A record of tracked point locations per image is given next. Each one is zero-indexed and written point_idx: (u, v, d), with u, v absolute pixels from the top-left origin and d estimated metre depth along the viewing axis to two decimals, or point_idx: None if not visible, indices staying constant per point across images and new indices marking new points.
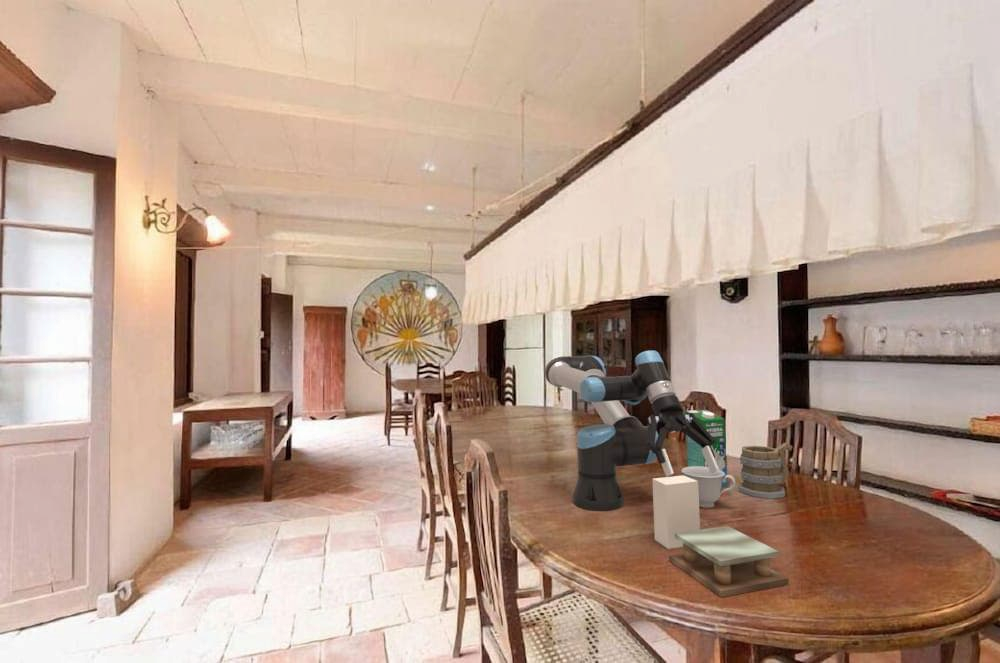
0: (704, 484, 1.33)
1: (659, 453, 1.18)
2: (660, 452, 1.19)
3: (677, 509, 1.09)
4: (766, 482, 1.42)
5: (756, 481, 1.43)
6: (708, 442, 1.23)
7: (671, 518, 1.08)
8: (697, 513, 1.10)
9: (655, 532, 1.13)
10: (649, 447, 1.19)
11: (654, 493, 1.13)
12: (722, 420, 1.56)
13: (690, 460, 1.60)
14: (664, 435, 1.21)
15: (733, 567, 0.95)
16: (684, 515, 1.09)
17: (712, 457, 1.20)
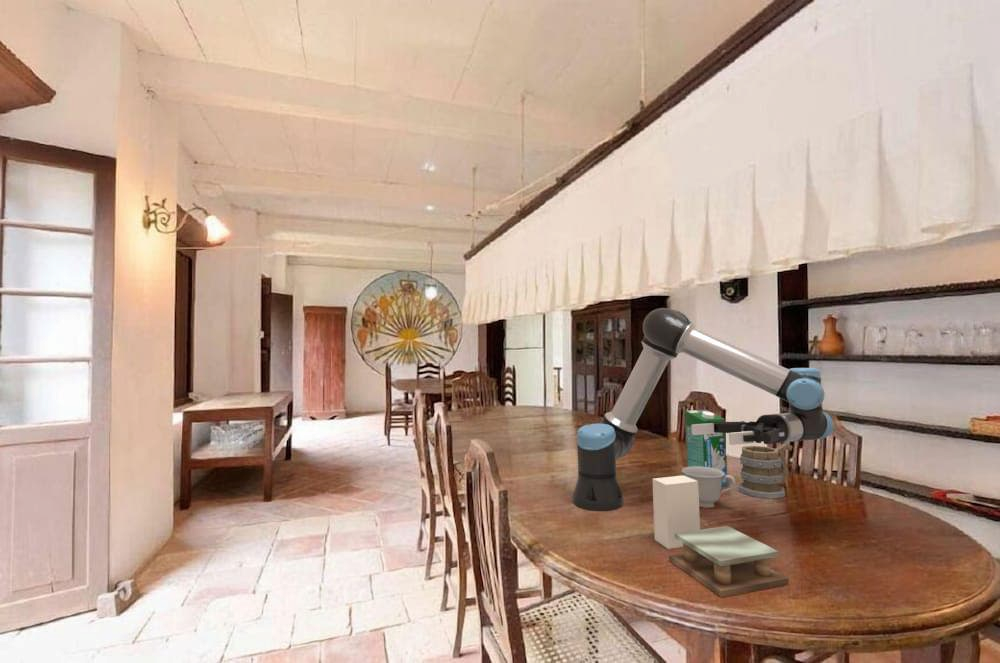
0: (704, 484, 1.33)
1: (753, 441, 1.09)
2: None
3: (677, 508, 1.09)
4: (766, 482, 1.42)
5: (756, 481, 1.43)
6: None
7: (671, 518, 1.08)
8: (697, 513, 1.10)
9: (655, 532, 1.13)
10: (767, 440, 1.08)
11: (654, 493, 1.13)
12: (722, 420, 1.56)
13: (690, 460, 1.60)
14: None
15: (733, 567, 0.95)
16: (684, 515, 1.09)
17: None
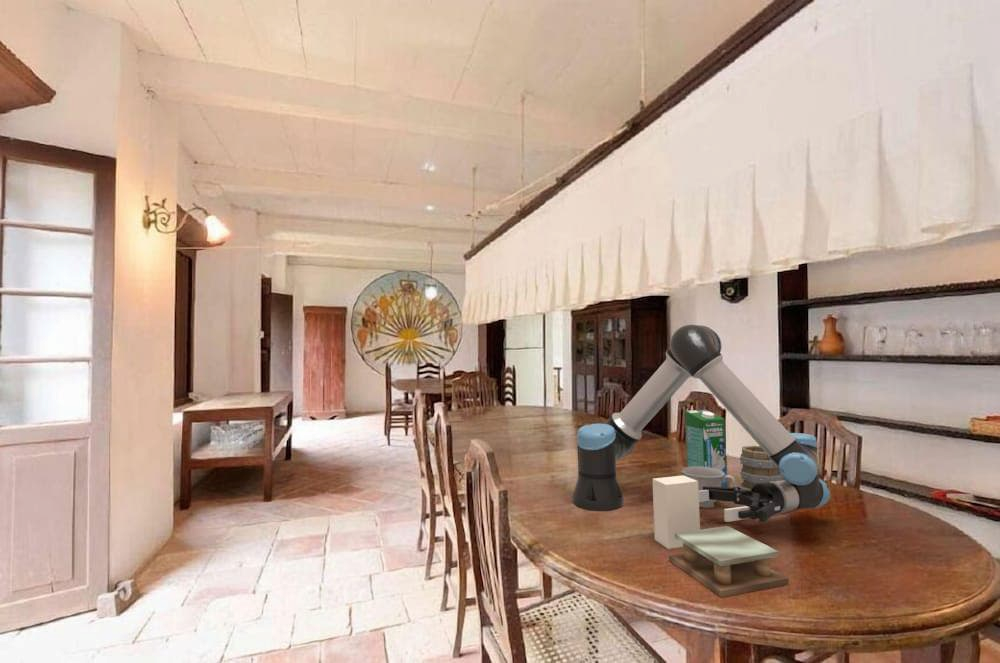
0: (704, 484, 1.33)
1: (749, 517, 1.07)
2: None
3: (677, 509, 1.09)
4: None
5: (756, 481, 1.43)
6: None
7: (671, 518, 1.08)
8: (697, 513, 1.10)
9: (655, 532, 1.13)
10: (762, 517, 1.06)
11: (654, 493, 1.13)
12: (722, 420, 1.56)
13: (690, 460, 1.60)
14: None
15: (733, 567, 0.95)
16: (684, 515, 1.09)
17: None
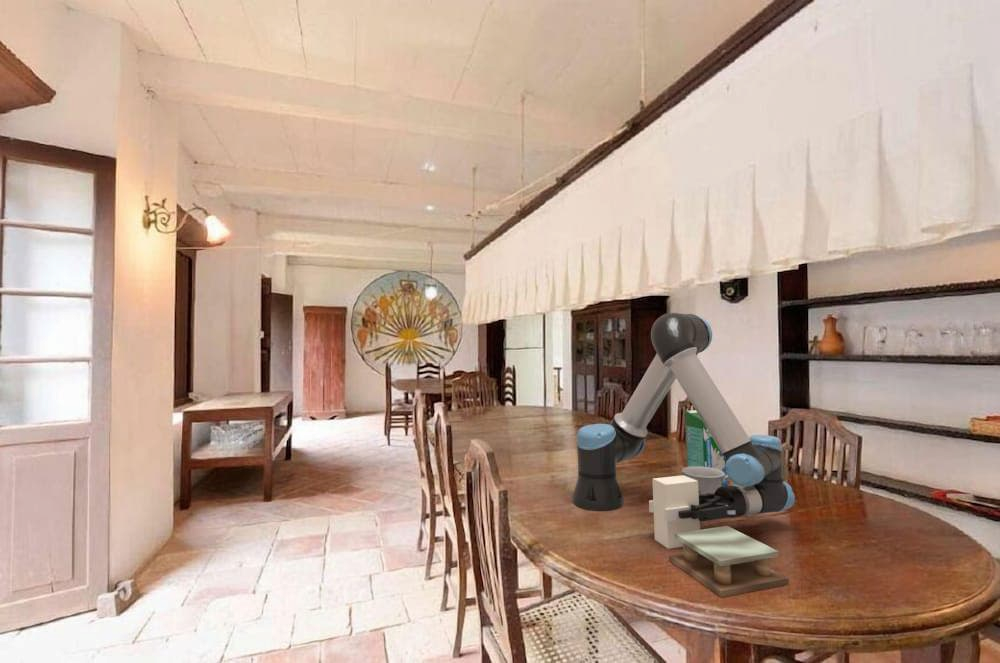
0: (704, 484, 1.33)
1: None
2: None
3: None
4: None
5: None
6: None
7: None
8: None
9: (655, 532, 1.13)
10: (700, 517, 1.06)
11: (654, 493, 1.13)
12: None
13: (690, 460, 1.60)
14: None
15: (733, 567, 0.95)
16: None
17: None
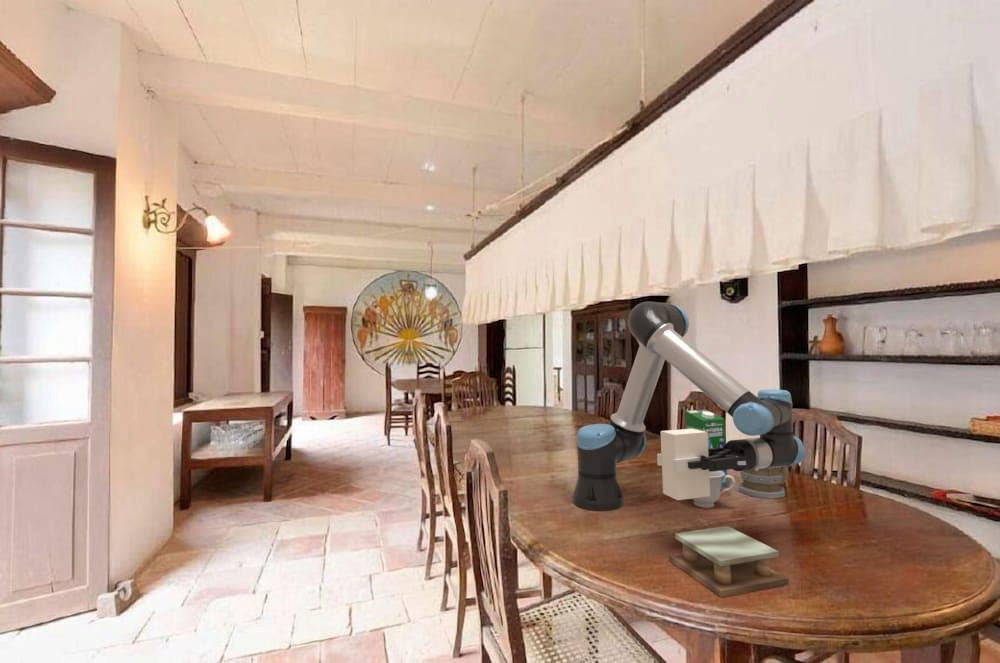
0: None
1: (698, 467, 1.05)
2: None
3: None
4: (766, 482, 1.42)
5: (756, 481, 1.43)
6: None
7: None
8: None
9: (663, 485, 1.10)
10: (710, 467, 1.04)
11: (662, 445, 1.10)
12: (722, 420, 1.56)
13: None
14: None
15: (733, 567, 0.95)
16: None
17: None
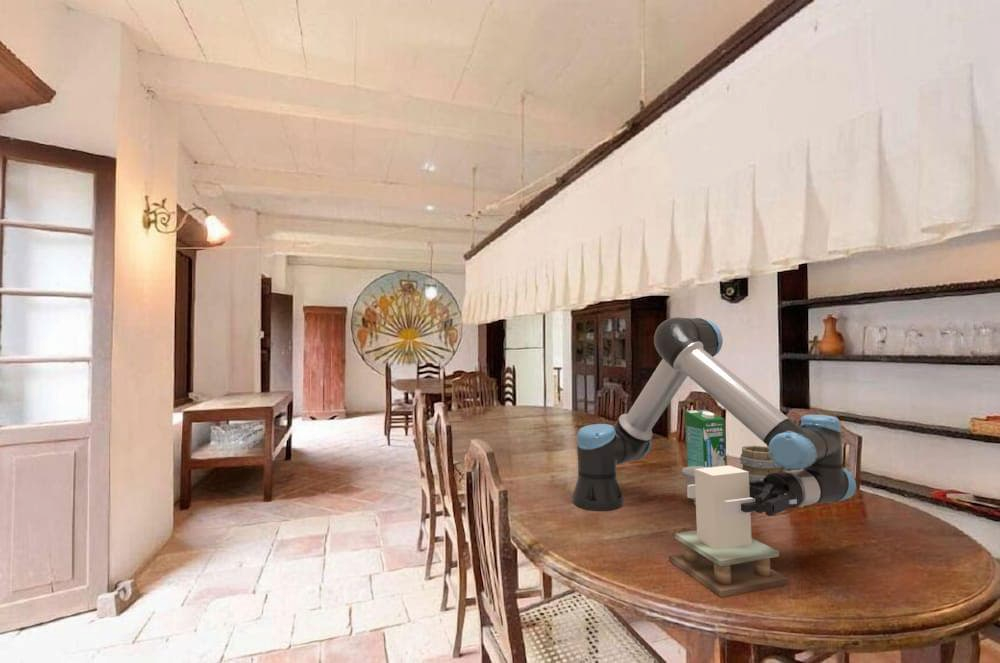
0: None
1: (753, 510, 0.90)
2: None
3: None
4: None
5: None
6: None
7: (718, 515, 0.93)
8: None
9: (698, 530, 0.98)
10: (769, 510, 0.89)
11: (697, 485, 0.98)
12: (722, 420, 1.56)
13: (690, 460, 1.60)
14: None
15: (733, 567, 0.95)
16: None
17: None
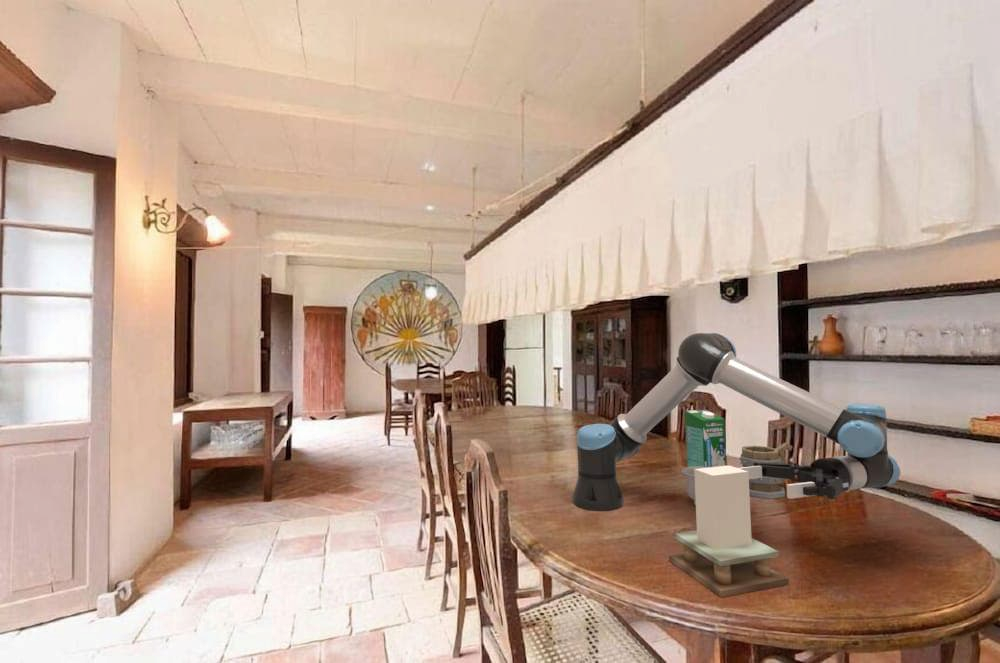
0: None
1: None
2: None
3: (725, 503, 0.94)
4: (766, 482, 1.42)
5: (756, 481, 1.43)
6: None
7: (718, 515, 0.93)
8: (748, 508, 0.95)
9: (698, 531, 0.98)
10: (832, 494, 0.92)
11: (697, 486, 0.98)
12: (722, 420, 1.56)
13: (690, 460, 1.60)
14: None
15: (733, 567, 0.95)
16: (733, 511, 0.94)
17: (749, 478, 1.07)
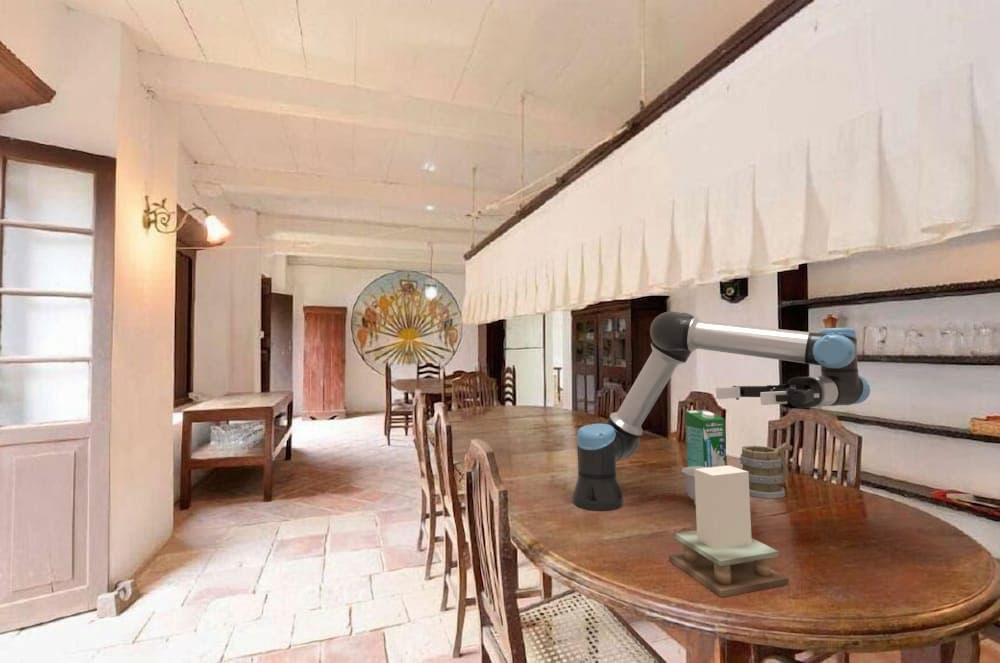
0: None
1: None
2: (786, 401, 1.00)
3: (725, 503, 0.94)
4: (766, 482, 1.42)
5: (756, 481, 1.43)
6: (739, 396, 1.15)
7: (718, 515, 0.93)
8: (748, 508, 0.95)
9: (698, 531, 0.98)
10: (802, 399, 0.98)
11: (697, 486, 0.98)
12: (722, 420, 1.56)
13: (690, 460, 1.60)
14: None
15: (733, 567, 0.95)
16: (733, 511, 0.94)
17: None
